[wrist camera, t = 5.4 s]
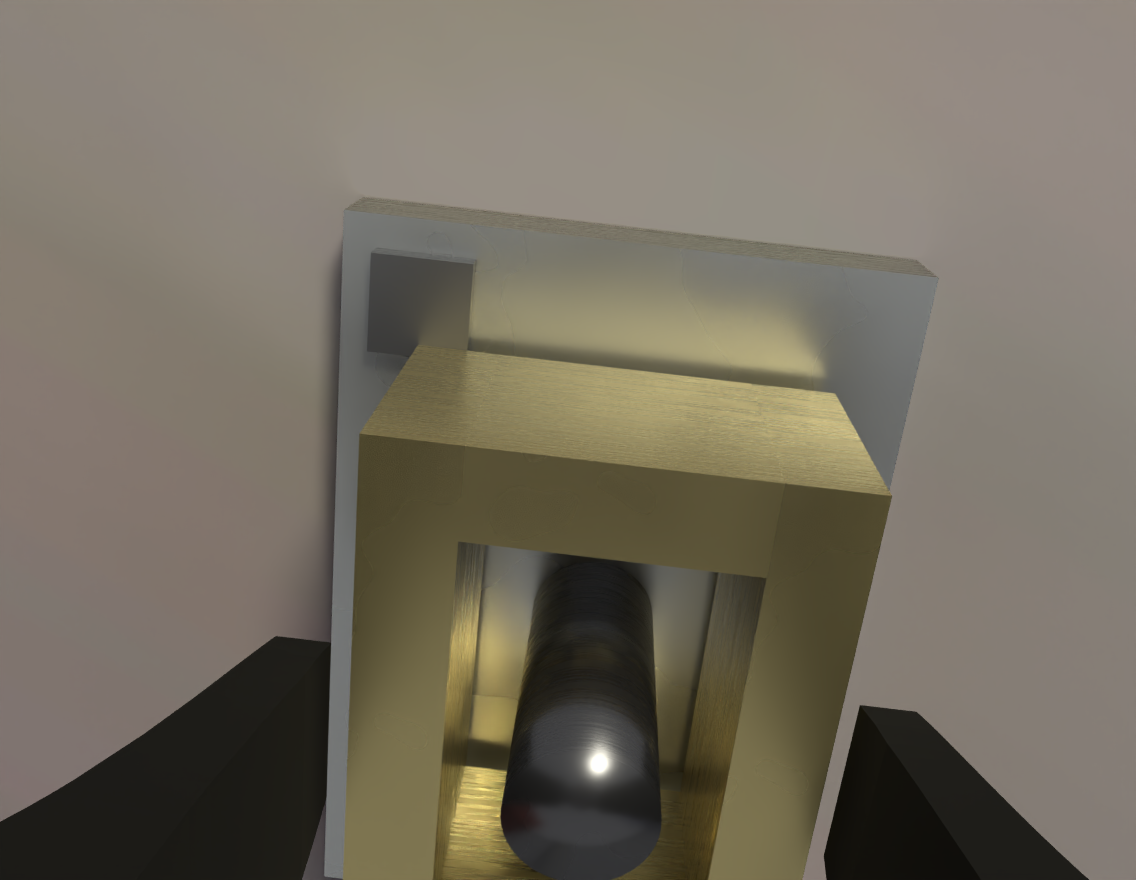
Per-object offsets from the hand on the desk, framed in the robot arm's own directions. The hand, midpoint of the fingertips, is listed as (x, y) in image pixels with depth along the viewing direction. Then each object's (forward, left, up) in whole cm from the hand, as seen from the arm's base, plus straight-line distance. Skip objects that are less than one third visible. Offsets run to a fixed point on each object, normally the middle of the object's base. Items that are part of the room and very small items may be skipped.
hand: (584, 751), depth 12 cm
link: (0, 0, -3) cm, 3 cm away
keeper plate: (0, 0, -4) cm, 4 cm away
